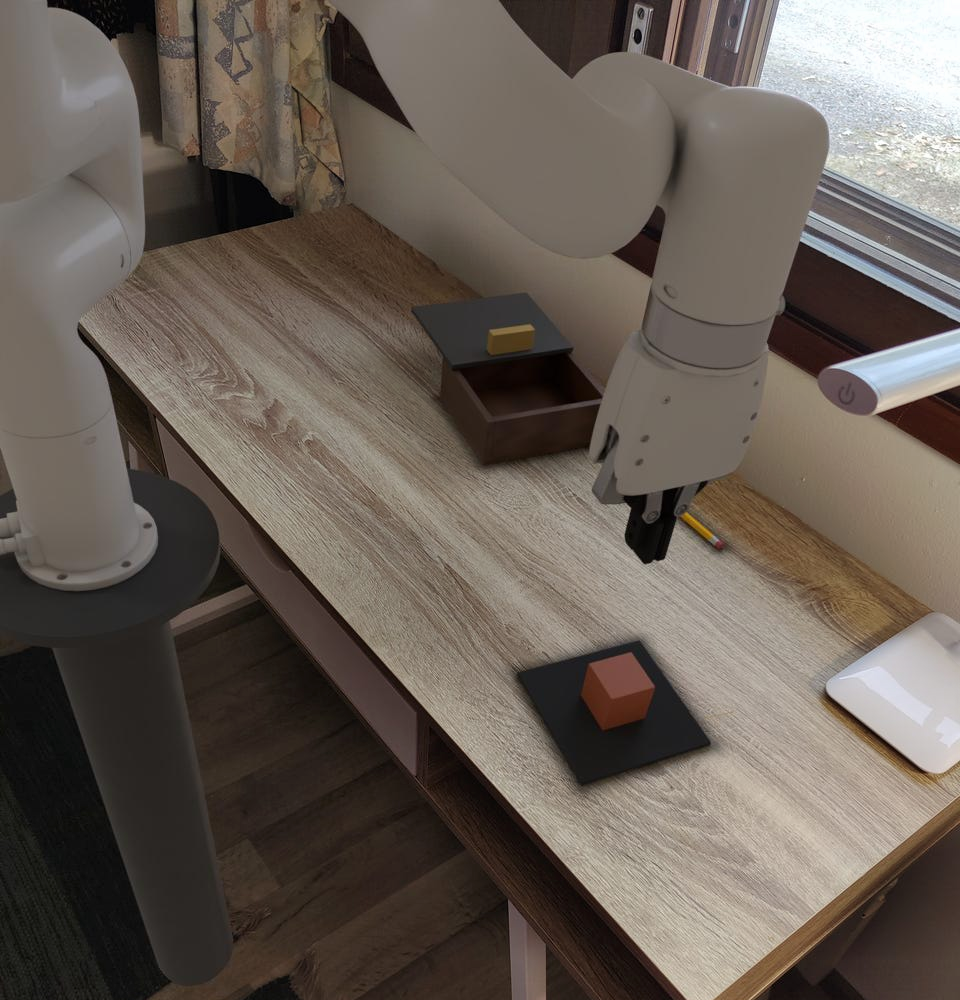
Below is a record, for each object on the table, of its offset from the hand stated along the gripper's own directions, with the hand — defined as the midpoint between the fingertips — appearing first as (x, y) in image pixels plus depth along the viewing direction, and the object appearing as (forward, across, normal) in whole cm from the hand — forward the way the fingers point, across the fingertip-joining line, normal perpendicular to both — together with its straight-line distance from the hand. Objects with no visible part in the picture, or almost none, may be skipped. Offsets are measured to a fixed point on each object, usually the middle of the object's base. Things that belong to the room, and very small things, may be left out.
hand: (643, 549), depth 73 cm
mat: (+15, +1, +2) cm, 16 cm away
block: (+15, +1, +2) cm, 15 cm away
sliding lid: (+10, -10, -47) cm, 49 cm away
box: (+15, -10, -37) cm, 42 cm away
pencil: (+16, -18, -19) cm, 31 cm away
